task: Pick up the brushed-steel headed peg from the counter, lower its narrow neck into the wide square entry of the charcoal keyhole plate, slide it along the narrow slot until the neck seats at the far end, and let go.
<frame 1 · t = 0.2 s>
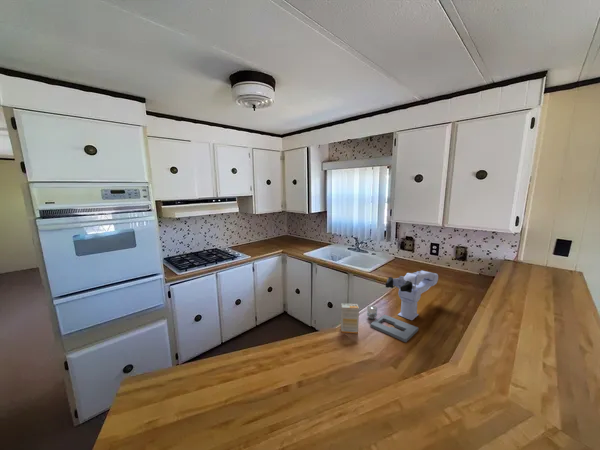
hand: (393, 287, 116), 21 cm above the counter, tool horizontal, fingers open, 7 cm apart
supplement box: (348, 331, 115), on the counter
keyhole plate: (393, 328, 118), on the counter
headed peg: (371, 318, 128), on the counter
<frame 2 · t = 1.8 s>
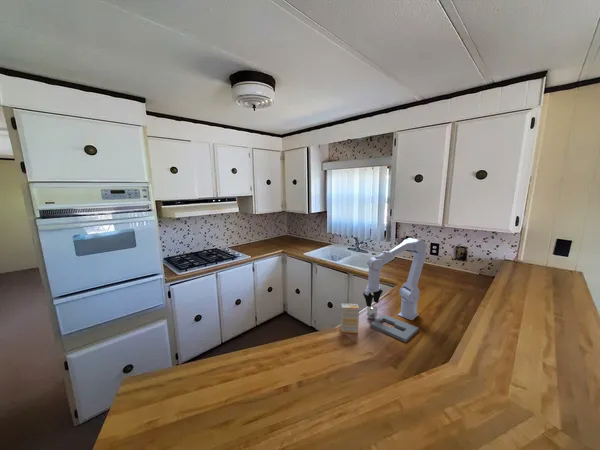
hand: (372, 304, 127), 8 cm above the counter, tool pointing down, fingers open, 7 cm apart
nothing on the counter moved.
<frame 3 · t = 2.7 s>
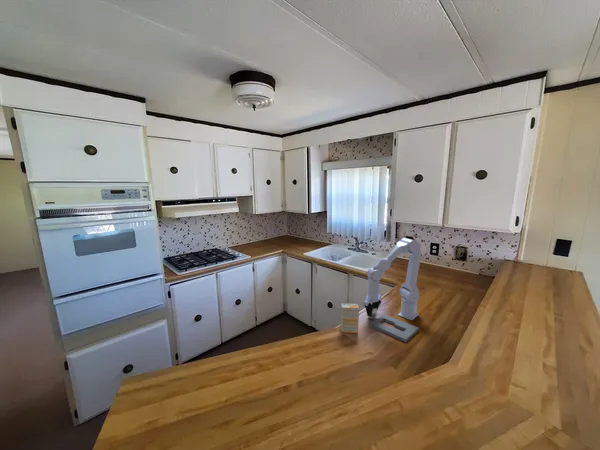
hand: (371, 314, 128), 2 cm above the counter, tool pointing down, fingers closed on headed peg, 5 cm apart
headed peg: (371, 318, 128), on the counter, touching gripper
everything else where it was.
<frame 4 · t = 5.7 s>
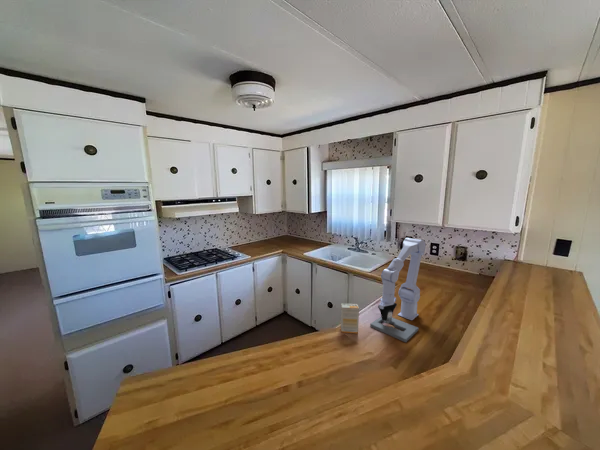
hand: (386, 318, 120), 4 cm above the counter, tool pointing down, fingers closed on headed peg, 5 cm apart
headed peg: (386, 322, 121), point 2 cm above the counter, touching gripper
everything else where it was.
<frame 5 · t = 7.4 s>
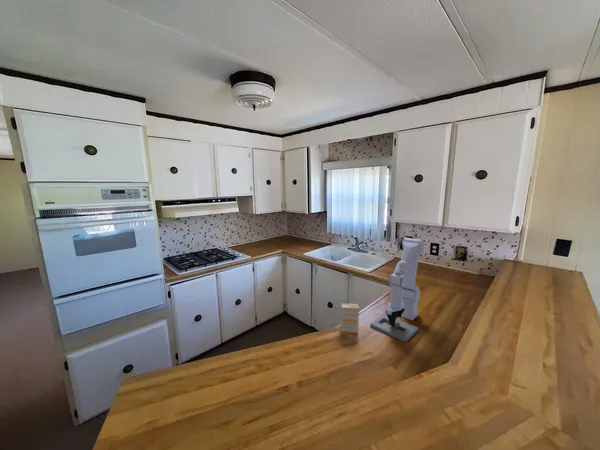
hand: (394, 323, 118), 3 cm above the counter, tool pointing down, fingers closed on headed peg, 5 cm apart
headed peg: (394, 327, 118), resting in keyhole plate, touching gripper
everything else where it was.
when the fingers open (3 cm above the counter, at t = 8.8 s): headed peg stays where it is, resting in keyhole plate.
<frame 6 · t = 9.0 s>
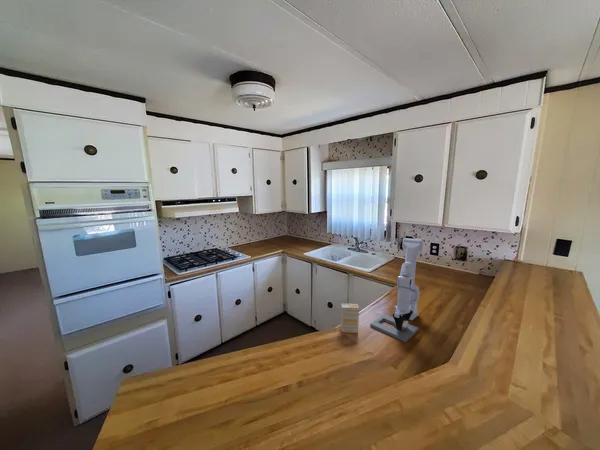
hand: (402, 326, 115), 3 cm above the counter, tool pointing down, fingers open, 7 cm apart
headed peg: (401, 331, 115), resting in keyhole plate
everything else where it was.
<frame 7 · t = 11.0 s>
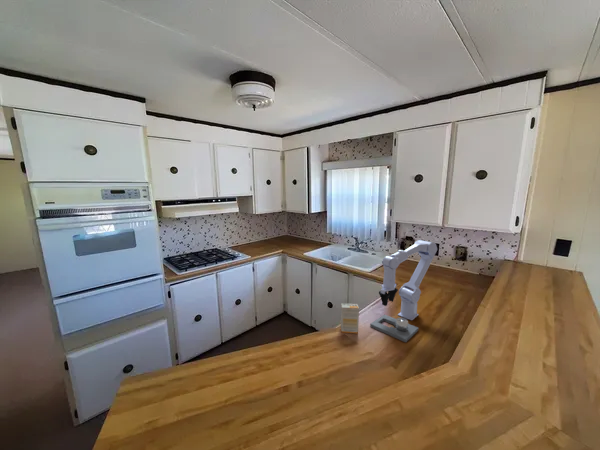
hand: (387, 303, 126), 9 cm above the counter, tool pointing down, fingers open, 7 cm apart
nothing on the counter moved.
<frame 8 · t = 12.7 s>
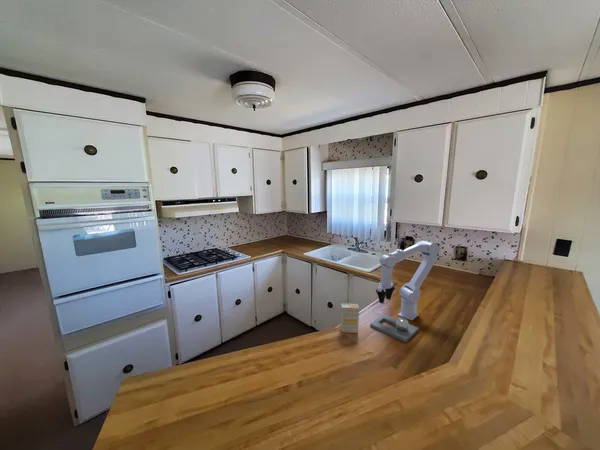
hand: (384, 301, 128), 9 cm above the counter, tool pointing down, fingers open, 7 cm apart
nothing on the counter moved.
at the end: headed peg 0.2 cm from the target spot on the keyhole plate, point 0.0 cm above the keyhole plate's base; headed peg tilted 0°; the gripper is holding nothing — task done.
